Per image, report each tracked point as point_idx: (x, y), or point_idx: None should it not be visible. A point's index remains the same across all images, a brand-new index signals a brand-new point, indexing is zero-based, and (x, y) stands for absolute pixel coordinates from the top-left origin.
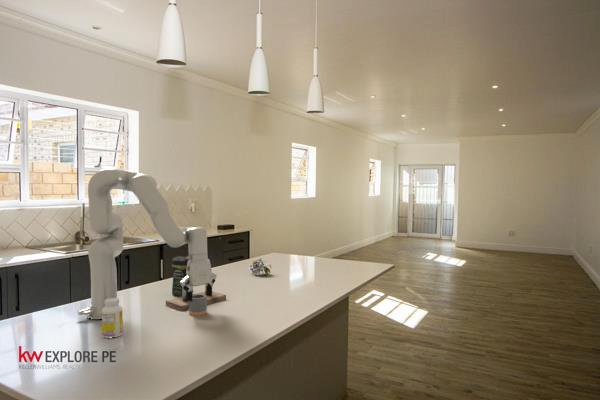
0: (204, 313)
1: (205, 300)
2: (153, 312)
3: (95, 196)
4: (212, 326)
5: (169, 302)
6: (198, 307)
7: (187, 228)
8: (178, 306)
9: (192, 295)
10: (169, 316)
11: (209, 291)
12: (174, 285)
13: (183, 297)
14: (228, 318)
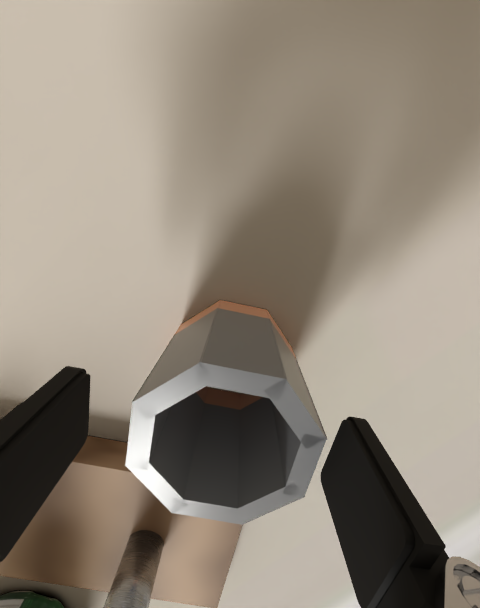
0: (229, 303)
1: (206, 343)
2: (340, 548)
3: None
4: (446, 19)
5: (224, 580)
6: (280, 343)
7: None
8: None
9: (224, 515)
10: None
11: (54, 427)
12: None
13: (155, 572)
14: (205, 43)
